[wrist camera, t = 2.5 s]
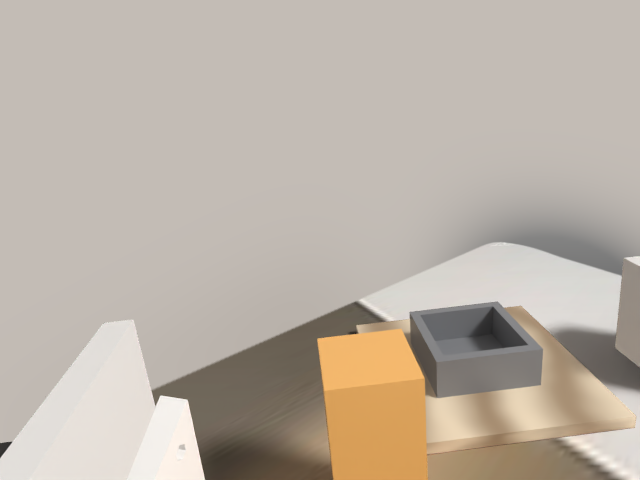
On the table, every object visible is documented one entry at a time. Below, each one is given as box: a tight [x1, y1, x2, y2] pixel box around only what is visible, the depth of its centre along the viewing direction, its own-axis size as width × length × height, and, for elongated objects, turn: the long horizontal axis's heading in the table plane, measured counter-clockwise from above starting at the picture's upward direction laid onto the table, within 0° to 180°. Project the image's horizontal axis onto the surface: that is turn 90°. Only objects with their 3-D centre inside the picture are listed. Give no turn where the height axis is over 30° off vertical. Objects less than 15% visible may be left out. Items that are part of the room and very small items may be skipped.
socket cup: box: [410, 302, 543, 398], centre depth 43 cm, size 9×9×3 cm
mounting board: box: [356, 306, 636, 454], centre depth 43 cm, size 18×18×1 cm
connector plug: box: [318, 329, 428, 480], centre depth 28 cm, size 5×5×12 cm
